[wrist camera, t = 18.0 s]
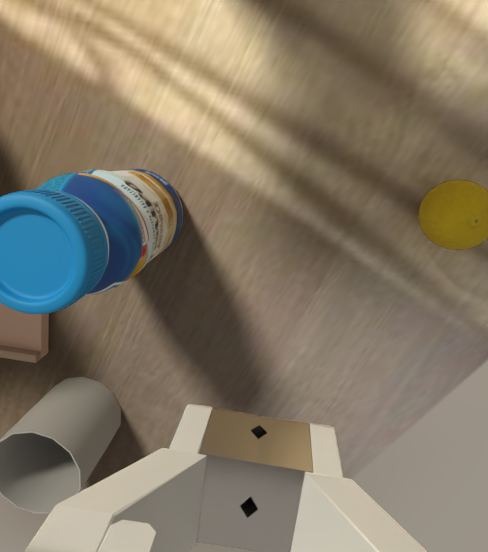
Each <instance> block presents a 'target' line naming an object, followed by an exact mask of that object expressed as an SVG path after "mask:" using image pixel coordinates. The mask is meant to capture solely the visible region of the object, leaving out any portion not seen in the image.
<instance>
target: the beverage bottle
mask: <svg viewBox="0 0 488 552" xmlns="http://www.w3.org/2000/svg"><path fill="white" fill-rule="evenodd" d="M182 222H183V209H182V204H181V201H180V198H179V196H178V194H177V192H176V190H175V189H174V188H173V186H172V185H171V184H170V183H169V182H168V181H167V180H166V179H165V178H163V177H162V176H160V175H158V174H157V173H154V172H152V171H149V170H144V169H130V170H124V171H104V170H86V171H81V172H77V173H69V174H63V175H60V176H57V177H54V178H52V179H50V180H48V181H47V182H45V183H44V184H42V185H41V186H40V187H38V188H37V189H33V190H25V191H18V192H13V193H9V194H8V195H3V196H2V197H0V303H2V304H3V305H5V306H7V307H9V308H11V309H13V310H16V311H19V312H22V313H27V314H47V313H52V312H56V311H58V310H62V309H63V308H66V307H68V306H70V305H72V304H73V303H74V302H76V301H77V300H79V299H80V298H82V297H83V296H85V295H94V294H100V293H103V292H106V291H109V290H111V289H113V288H115V287H117V286H119V285H120V284H121V283H123V282H124V281H127V280H128V279H130V278H132V277H133V276H135V275H136V274H137V273H139V272H140V271H141V270H142V269H143V268H144V267H145V265H146V264H147V263H148V262H149V261H151V260H152V259H153V258H155V257H156V256H157V255H158V254H160V253H161V252H163V251H164V250H166V249H167V248H168V247H169V246H171V245H172V243H173V242H174V241H175V240H176V238H177V237H178V235H179V232H180V230H181V227H182Z"/></svg>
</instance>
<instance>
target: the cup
mask: <svg viewBox="0 0 488 552" xmlns="http://www.w3.org/2000/svg"><path fill="white" fill-rule="evenodd" d="M120 425H121V407H120V405H119V403H118V401H117V399H116V397H115V395H114V393H112V392H111V391H110V390H109V389H108V388H106V387H105V386H104V385H103V384H102V383H101V382H98V381H95V380H92V379H89V378H86V377H75V378H66V379H65V380H63V381H62V382H60V383H59V384H57V385H56V386H54V387H53V388H52V389H51V390H50V391H49V392H48V393H47V394H46V395H45V396H44V397H43V398H42V399H41V400H40V401H39V402H38V403H37V404H36V405H35V406H34V407H33V408H32V409H31V410H30V411H28V412H27V413H26V414H25V415H24V416H23V417H22V418H21V419H20V420H19V421H18V422H17V423H16V424H15V425H14V426H13V427H12V428H11V429H10V430H9V431H8V432H7V433H6V434H5V435H4V436H3V437H2V438H1V439H0V494H1V495H2V496H3V497H4V498H5V499H7V500H8V501H9V502H11V503H12V504H13V505H14V506H16V507H17V508H20V509H23V510H26V511H29V512H33V513H35V514H46V513H51V511H52V510H53V508H54V507H55V505H57V504H59V503H60V502H62V501H64V500H66V499H68V498H70V497H72V496H74V495H75V494H77V493H79V492H80V490H81V489H82V487H83V486H84V484H85V482H86V481H87V479H88V478H89V476H90V474H91V473H92V471H93V469H94V468H95V466H96V465H97V463H98V461H99V460H100V458H101V457H102V455H103V453H104V452H105V450H106V449H107V447H108V445H109V444H110V442H111V440H112V439H113V437H114V436H115V434H116V432H117V430H118V428H119V427H120Z"/></svg>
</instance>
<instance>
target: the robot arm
mask: <svg viewBox="0 0 488 552" xmlns="http://www.w3.org/2000/svg"><path fill="white" fill-rule="evenodd" d="M196 543H204V544H211V545H218V546H224V547H231V548H238V549H245V550H249V551H254V552H427V551H426V550H425V549H424V548H423V547H422V546H421V545H420V544H419V543H418V542H417V541H415V539H413V538H412V537H411V536H410V535H409V534H408V533H407V532H406V531H405V530H404V529H403V528H402V527H401V526H400V525H399V524H398V523H397V522H396V521H395V520H394V519H393V518H391V516H389V515H388V514H387V513H386V512H385V511H384V510H383V509H382V508H381V507H380V506H379V505H378V504H377V503H376V502H375V501H374V500H373V499H372V498H371V497H370V496H369V495H368V494H366V493H365V492H364V491H363V490H362V489H361V488H360V487H359V486H358V485H357V484H356V483H355V482H354V481H353V480H352V479H347V478H344V474H343V468H342V463H341V458H340V453H339V447H338V442H337V437H336V432H335V428H334V427H333V426H331V425H322V424H314V423H306V422H299V421H291V420H284V419H277V418H269V417H262V416H259V415H254V414H248V413H242V412H237V411H231V410H226V409H220V408H215V407H214V408H212V407H211V406H204V405H197V404H188V405H187V406H186V409H185V411H184V414H183V416H182V418H181V421H180V423H179V426H178V428H177V431H176V433H175V436H174V438H173V441H172V443H171V446H170V448H169V449H166V448H161V449H159V450H157V451H155V452H154V453H152V454H150V455H148V456H146V457H144V458H142V459H141V460H139V461H137V462H135V463H133V464H131V465H129V466H128V467H126V468H124V469H122V470H120V471H118V472H116V473H114V474H113V475H111V476H109V477H107V478H105V479H103V480H101V481H100V482H98V483H96V484H94V485H92V486H90V487H88V488H87V489H85V490H83V491H81V492H79V493H77V494H75V495H74V496H72V497H70V498H68V499H66V500H64V501H62V502H60V503H59V504H57V505H55V507H54V508H53V510H52V511H51V513H50V514H49V516H48V517H47V519H46V520H45V522H44V523H43V525H42V526H41V528H40V529H39V531H38V532H37V534H36V535H35V537H34V538H33V540H32V541H31V543H30V544H29V545H28V547H27V548H26V550H25V551H24V552H190V551H191V550H192V549H193V548H194V547H195V546H196Z"/></svg>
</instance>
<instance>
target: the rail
mask: <svg viewBox="0 0 488 552" xmlns="http://www.w3.org/2000/svg"><path fill="white" fill-rule="evenodd" d="M48 337H49V313H47V314H27V313H22V312H19V311H16V310H13V309H11V308H9V307H7V306H5V305H3V304H2V303H0V357H1V358H7V359H13V360H20V361H26V362H32V363H36V362H38V361H39V360H40V359H41V358H42V357H44V356H45V355H46V354H47V353H48Z"/></svg>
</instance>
